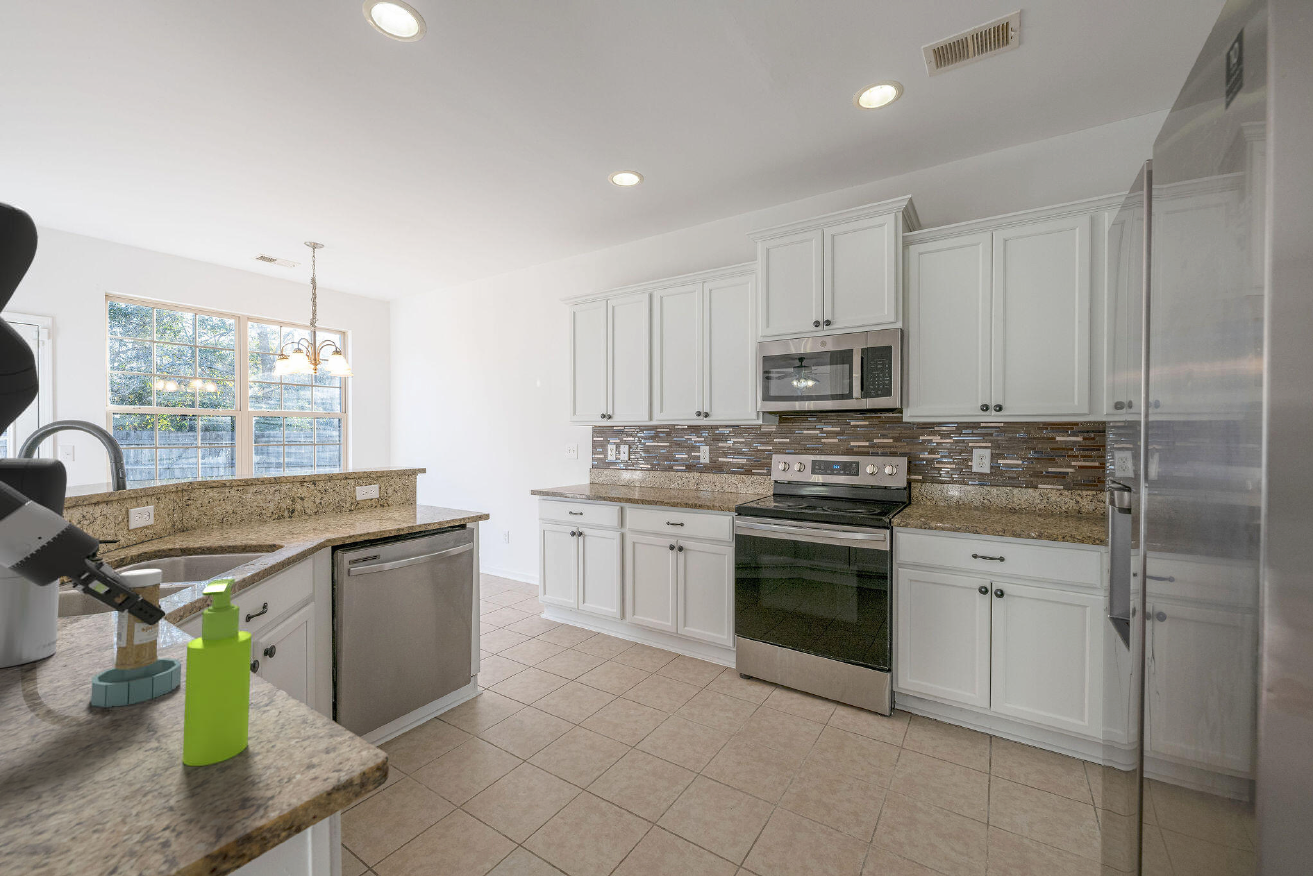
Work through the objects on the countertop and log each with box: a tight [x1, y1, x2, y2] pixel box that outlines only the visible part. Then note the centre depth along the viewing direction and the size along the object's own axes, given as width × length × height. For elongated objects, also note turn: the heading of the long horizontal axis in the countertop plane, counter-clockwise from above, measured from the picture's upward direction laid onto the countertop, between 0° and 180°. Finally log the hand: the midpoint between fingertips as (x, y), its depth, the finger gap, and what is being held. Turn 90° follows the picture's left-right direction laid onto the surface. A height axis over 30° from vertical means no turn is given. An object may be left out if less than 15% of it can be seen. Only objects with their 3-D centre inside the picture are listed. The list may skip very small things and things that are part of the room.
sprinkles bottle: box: [114, 568, 163, 670], centre depth 78 cm, size 5×5×14 cm
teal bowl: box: [90, 657, 182, 708], centre depth 78 cm, size 9×9×3 cm
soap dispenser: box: [182, 578, 252, 767], centre depth 63 cm, size 6×7×20 cm
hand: (156, 615), depth 79 cm, fingers closed on sprinkles bottle, 4 cm apart
